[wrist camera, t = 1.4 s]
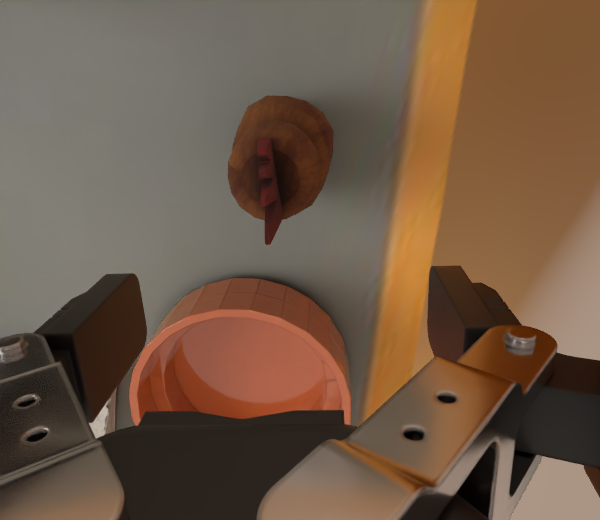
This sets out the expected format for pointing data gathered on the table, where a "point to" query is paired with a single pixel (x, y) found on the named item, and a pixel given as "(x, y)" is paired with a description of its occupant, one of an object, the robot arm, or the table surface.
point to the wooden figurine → (279, 159)
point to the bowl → (243, 355)
